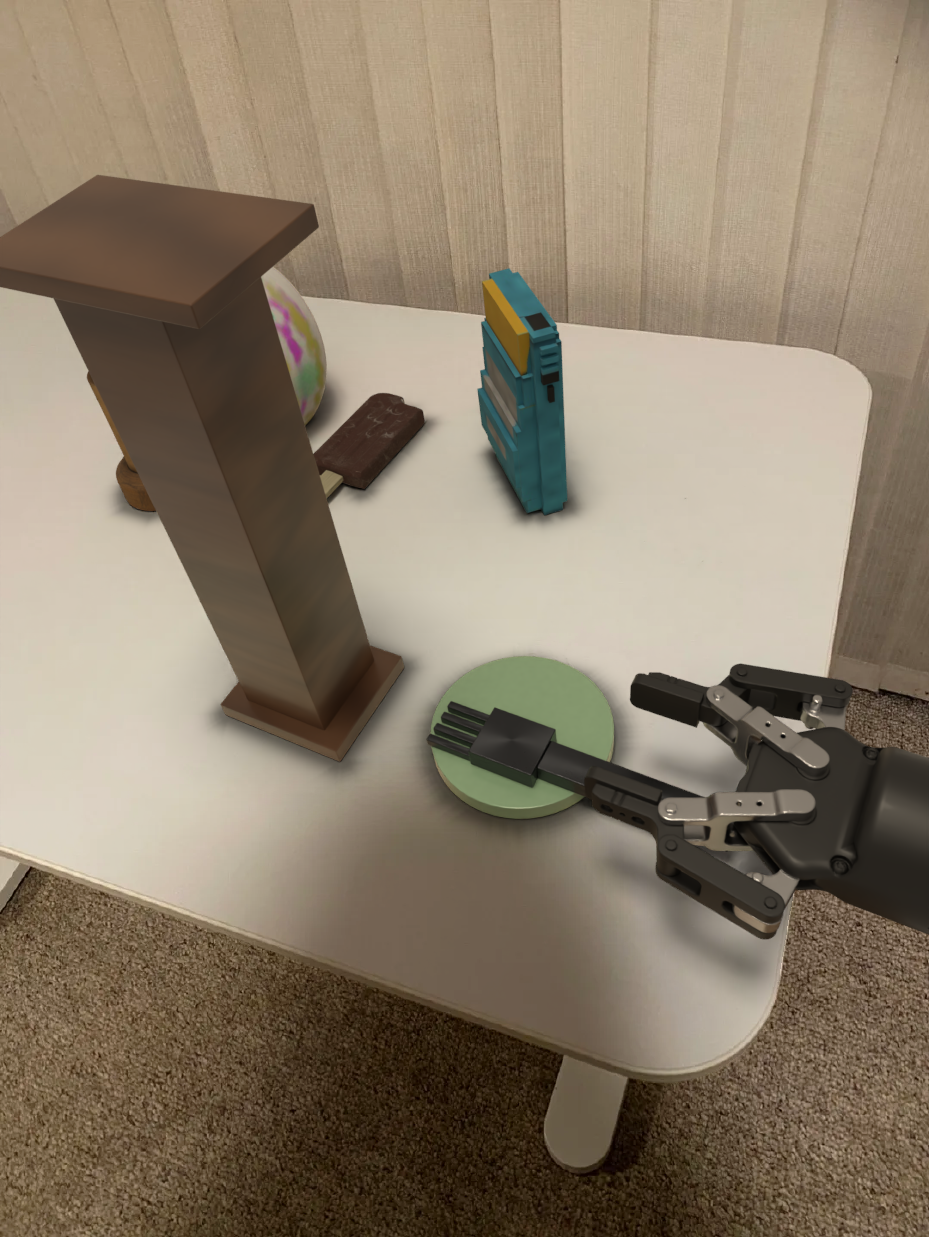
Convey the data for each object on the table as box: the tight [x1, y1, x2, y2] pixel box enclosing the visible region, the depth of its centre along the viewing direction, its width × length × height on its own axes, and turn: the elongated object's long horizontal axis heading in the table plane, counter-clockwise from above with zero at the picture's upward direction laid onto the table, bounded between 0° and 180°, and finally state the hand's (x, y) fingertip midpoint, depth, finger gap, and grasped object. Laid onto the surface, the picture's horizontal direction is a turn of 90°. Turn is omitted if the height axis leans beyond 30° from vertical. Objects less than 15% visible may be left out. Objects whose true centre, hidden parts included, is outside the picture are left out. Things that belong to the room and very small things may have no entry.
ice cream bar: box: [313, 392, 426, 499], centre depth 75 cm, size 5×2×15 cm
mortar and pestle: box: [86, 370, 157, 512], centre depth 70 cm, size 7×6×18 cm
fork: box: [426, 701, 733, 853], centre depth 52 cm, size 3×18×1 cm, turn 62°
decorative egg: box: [261, 266, 328, 426], centre depth 76 cm, size 12×12×15 cm
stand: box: [0, 174, 405, 762], centre depth 49 cm, size 8×12×31 cm, turn 62°
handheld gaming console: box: [476, 267, 568, 516], centre depth 66 cm, size 10×4×15 cm, turn 17°
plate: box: [429, 655, 615, 820], centre depth 56 cm, size 11×11×1 cm
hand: (611, 733), depth 47 cm, fingers open, 5 cm apart
